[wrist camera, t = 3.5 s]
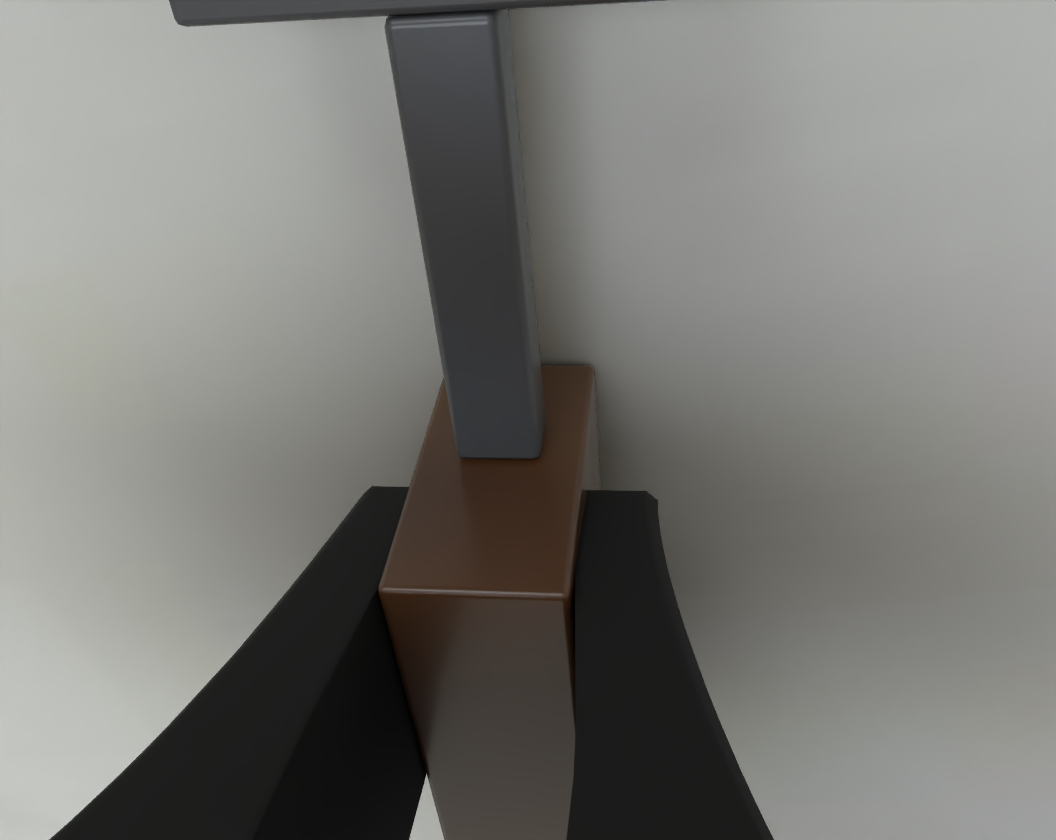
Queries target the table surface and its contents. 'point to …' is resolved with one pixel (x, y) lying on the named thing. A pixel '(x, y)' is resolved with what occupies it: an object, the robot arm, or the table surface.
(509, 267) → the fork
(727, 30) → the table surface
